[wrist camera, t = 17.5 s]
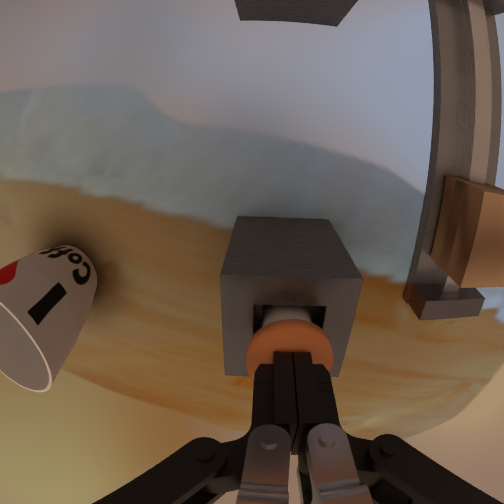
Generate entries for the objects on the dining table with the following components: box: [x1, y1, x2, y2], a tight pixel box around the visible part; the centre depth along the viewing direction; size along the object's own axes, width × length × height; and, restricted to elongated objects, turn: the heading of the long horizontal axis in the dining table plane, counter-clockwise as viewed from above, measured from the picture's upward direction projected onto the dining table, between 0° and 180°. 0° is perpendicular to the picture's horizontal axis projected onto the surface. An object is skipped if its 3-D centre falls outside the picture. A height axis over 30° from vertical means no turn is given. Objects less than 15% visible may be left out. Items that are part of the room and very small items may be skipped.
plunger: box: [246, 305, 334, 380], centre depth 14 cm, size 4×4×4 cm
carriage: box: [430, 175, 504, 288], centre depth 16 cm, size 6×4×4 cm
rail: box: [403, 0, 504, 320], centre depth 15 cm, size 26×6×3 cm, turn 179°
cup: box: [0, 245, 97, 392], centre depth 18 cm, size 8×8×10 cm
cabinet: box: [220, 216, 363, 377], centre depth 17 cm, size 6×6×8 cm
